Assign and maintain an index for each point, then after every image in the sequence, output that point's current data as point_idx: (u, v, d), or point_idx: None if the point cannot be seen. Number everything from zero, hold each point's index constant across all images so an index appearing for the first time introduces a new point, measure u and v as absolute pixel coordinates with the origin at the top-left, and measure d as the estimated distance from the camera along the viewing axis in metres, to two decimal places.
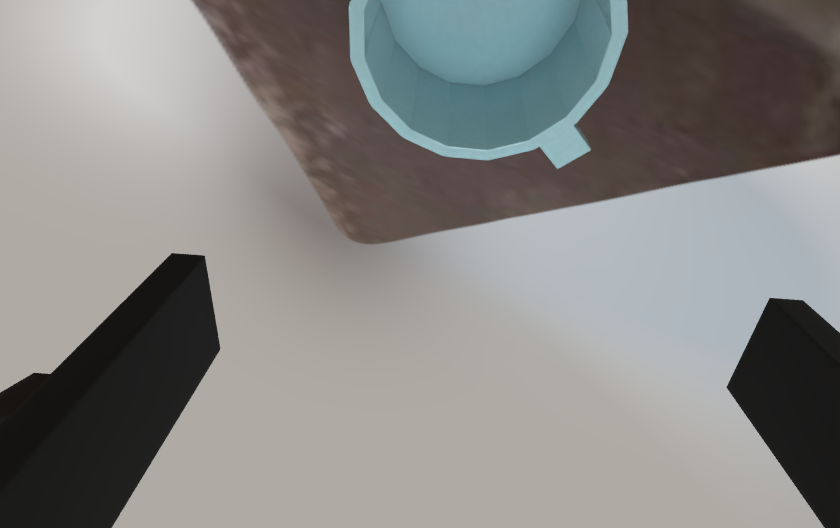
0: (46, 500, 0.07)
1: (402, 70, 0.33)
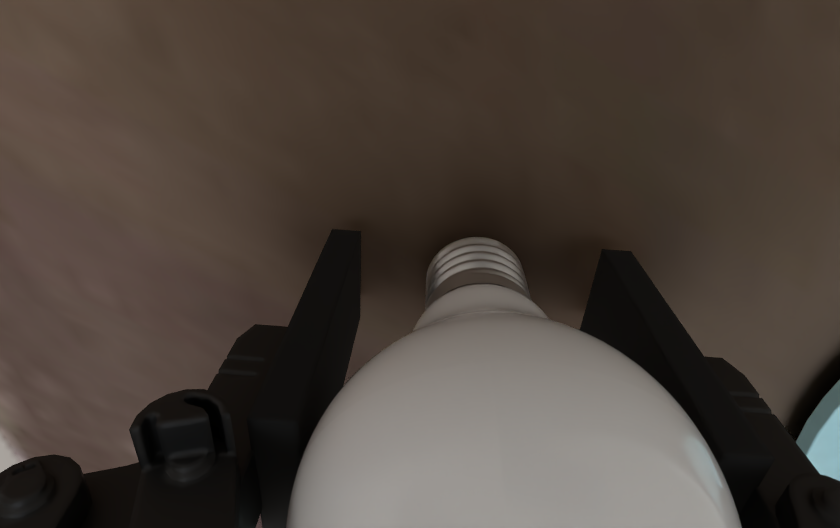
0: (313, 417, 0.09)
1: None
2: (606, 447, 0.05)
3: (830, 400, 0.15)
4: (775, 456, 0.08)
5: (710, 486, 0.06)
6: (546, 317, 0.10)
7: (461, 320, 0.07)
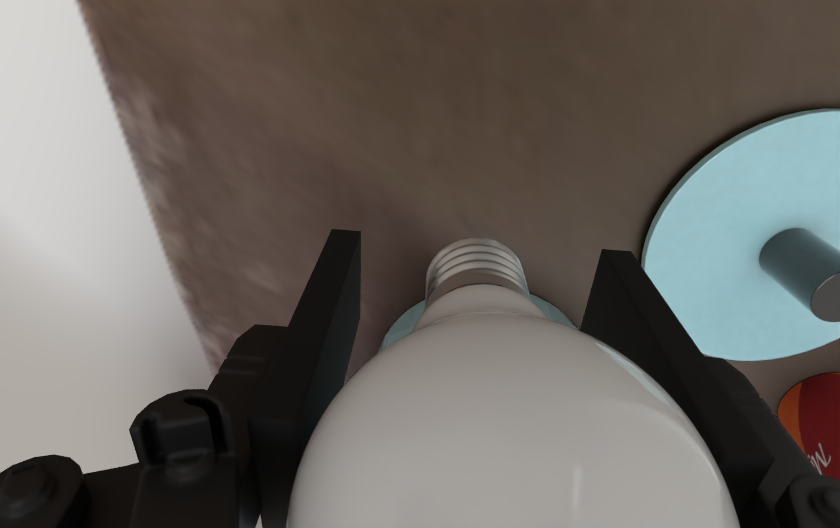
0: (313, 417, 0.09)
1: None
2: (605, 446, 0.05)
3: (654, 221, 0.27)
4: (775, 456, 0.08)
5: (708, 486, 0.06)
6: (546, 317, 0.10)
7: (461, 320, 0.07)
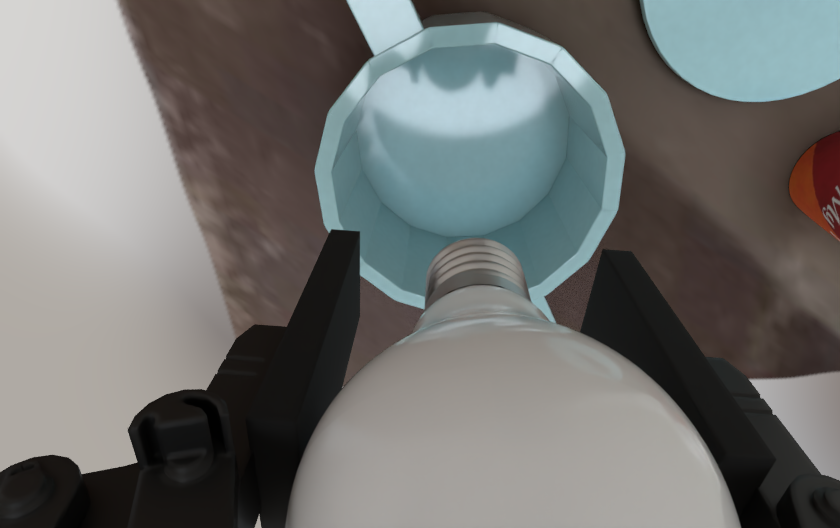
0: (312, 417, 0.09)
1: (365, 200, 0.30)
2: (606, 450, 0.05)
3: None
4: (776, 456, 0.08)
5: (710, 489, 0.06)
6: (546, 318, 0.10)
7: (461, 322, 0.07)
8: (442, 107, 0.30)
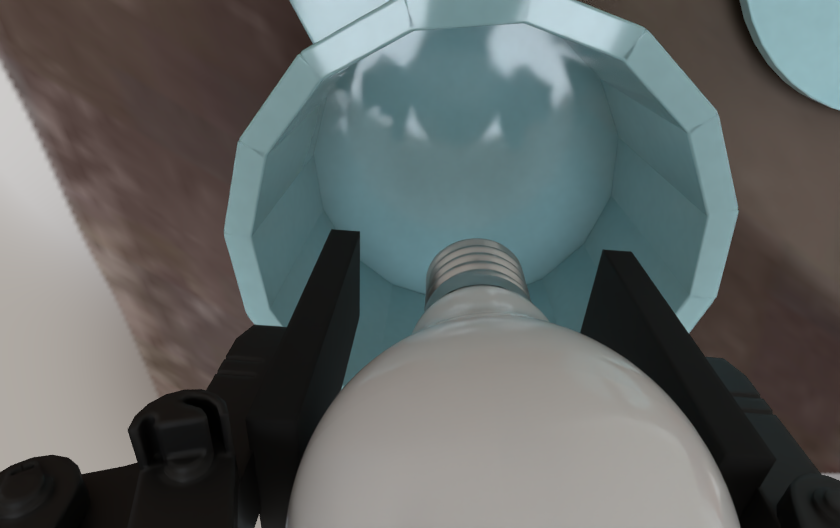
0: (312, 417, 0.09)
1: None
2: (605, 450, 0.05)
3: None
4: (776, 456, 0.08)
5: (710, 490, 0.06)
6: (546, 319, 0.10)
7: (460, 323, 0.07)
8: (434, 124, 0.21)
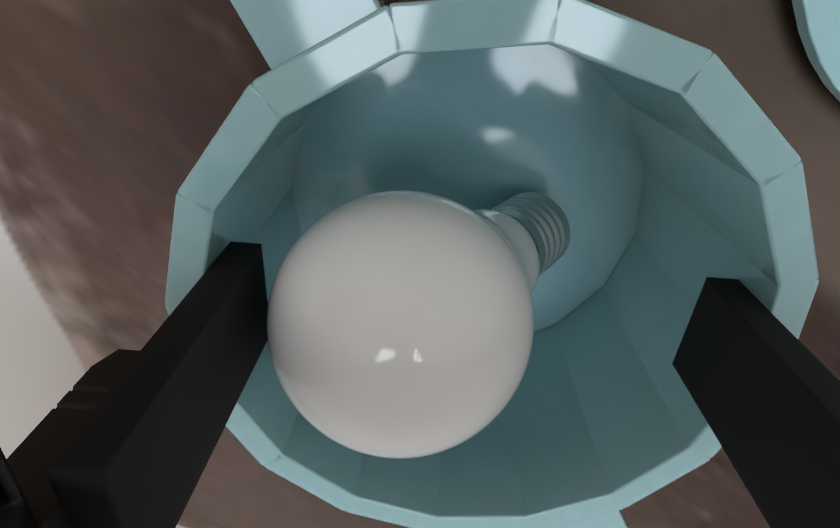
0: (150, 459, 0.08)
1: None
2: (400, 234, 0.10)
3: None
4: None
5: (457, 285, 0.10)
6: (521, 239, 0.14)
7: None
8: (431, 152, 0.18)
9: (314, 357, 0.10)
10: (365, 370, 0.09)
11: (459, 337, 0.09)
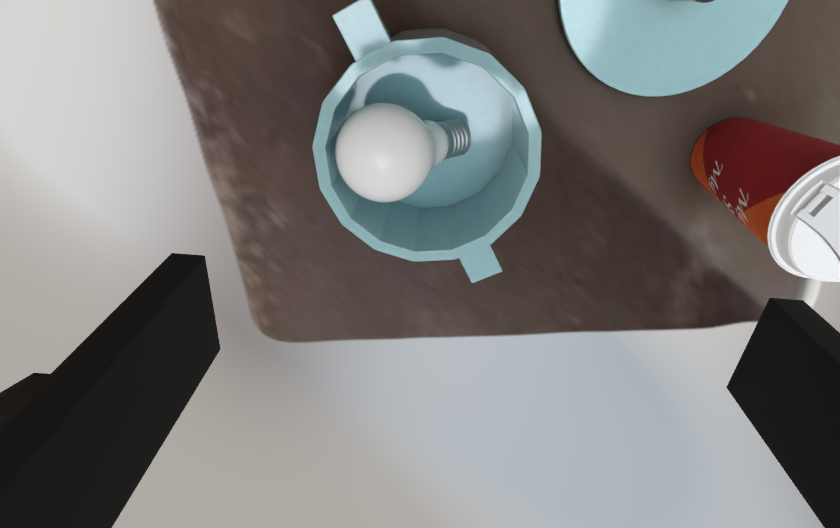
0: (46, 500, 0.07)
1: None
2: (379, 112, 0.30)
3: None
4: None
5: (395, 127, 0.30)
6: (437, 129, 0.34)
7: None
8: (412, 101, 0.38)
9: (349, 149, 0.30)
10: (364, 150, 0.30)
11: (394, 142, 0.30)
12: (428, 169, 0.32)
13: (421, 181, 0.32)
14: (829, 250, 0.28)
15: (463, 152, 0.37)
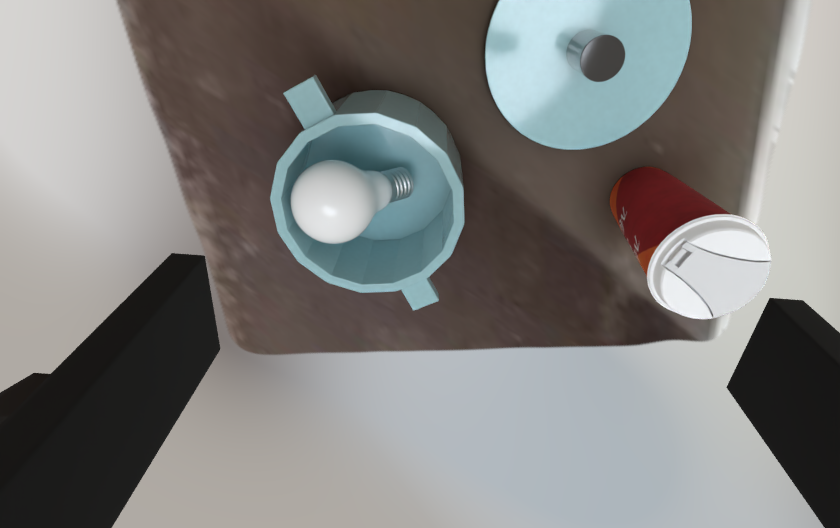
0: (46, 499, 0.07)
1: None
2: (326, 170, 0.36)
3: (488, 27, 0.38)
4: None
5: (338, 184, 0.36)
6: (380, 180, 0.39)
7: None
8: (364, 151, 0.43)
9: (300, 202, 0.36)
10: (312, 204, 0.35)
11: (337, 197, 0.35)
12: (370, 217, 0.38)
13: (364, 227, 0.38)
14: (694, 294, 0.33)
15: (407, 196, 0.43)
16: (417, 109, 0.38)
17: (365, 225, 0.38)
